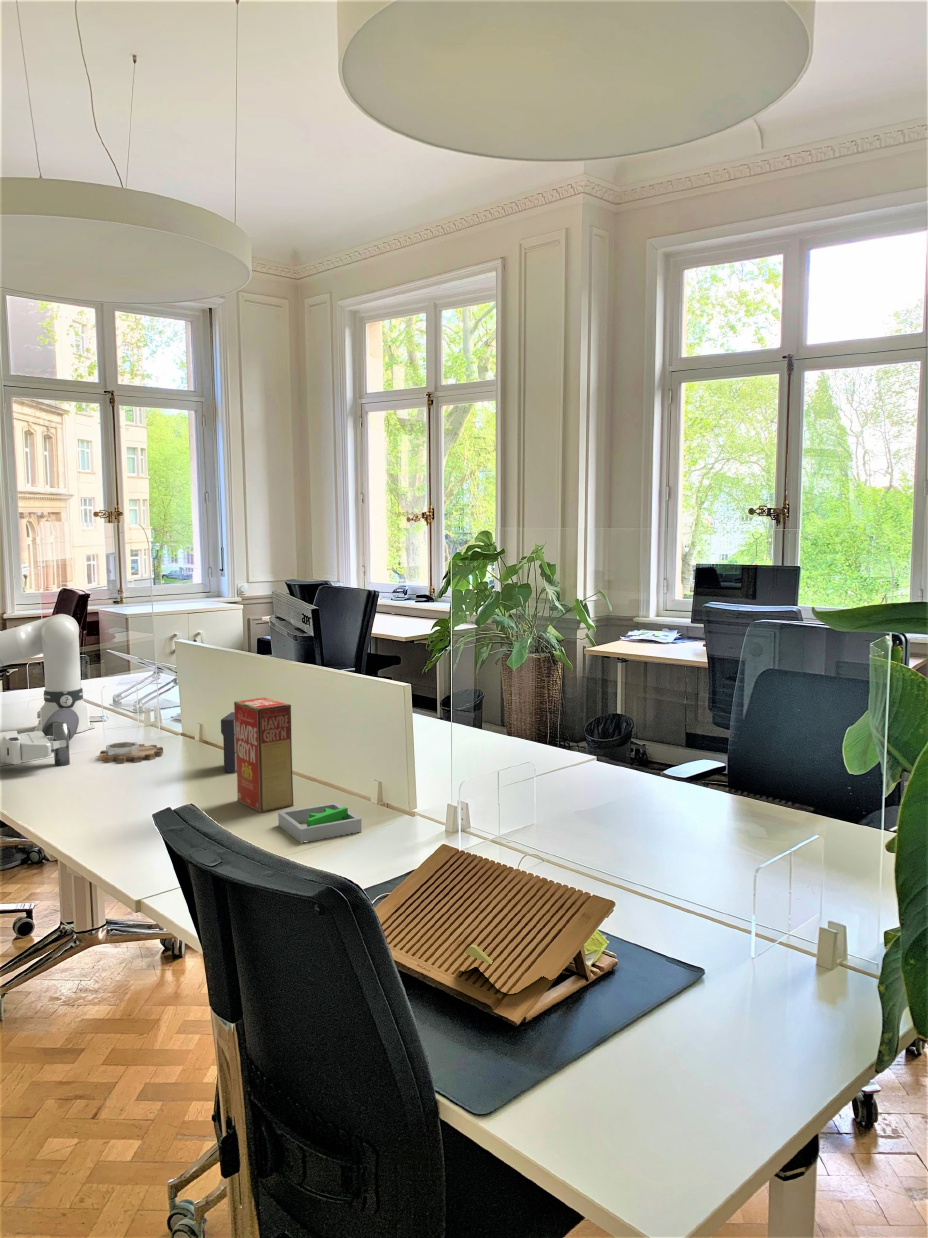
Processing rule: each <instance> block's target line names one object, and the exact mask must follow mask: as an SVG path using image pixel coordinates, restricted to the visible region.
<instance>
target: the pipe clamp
mask: <svg viewBox="0 0 928 1238" xmlns="http://www.w3.org/2000/svg"><path fill="white" fill-rule="evenodd" d="M342 807H343V808H340V809H337V810H332V809H328V808H325V809H324V812H323V813H310V814H309V819H307V822H306V827H309V826H314V825H320V824H326V823H331V822H337V821H343V820H348V811H349V808H348V807H346V806H342Z"/></svg>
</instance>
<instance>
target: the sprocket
mask: <svg viewBox="0 0 928 1238" xmlns="http://www.w3.org/2000/svg"><path fill="white" fill-rule="evenodd" d="M163 753H164V748H163V746H158V745H157V744H150V745H145V744H144V743H137V742H136V741H135V742H134V741H121V742H114V743H110V744H108V745H105V750H103V749H102V750H101V751H99V753H98V758H99V761H104V763H108V764H110V763H113V762H116V761H117V762H116V763H117V764H125V763H128V762H133V763H135V764H136V763H140V762H142V761H144V760H148V761H151V760H155V759H156V757H162V756H163V755H164V754H163Z"/></svg>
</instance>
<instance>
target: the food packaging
mask: <svg viewBox="0 0 928 1238" xmlns="http://www.w3.org/2000/svg"><path fill="white" fill-rule="evenodd" d="M233 705H234V708H233V710H234V711H233V712H235V735H236V761H237V771H236V786H237V788H236V789H237V790H236V791H237V799H236V801H237V802H238V803H241V804H242V805H244V806H247V807H249V808H251V809H253V810H254V811H257V812H259V813H266V812H272V811H276V810H280V809H285V808H291V807H293V806H294V782H293V748H292V747H293V743H292V705H291V704H290V703H287V702H286V703H285V702H282V701H278V700H273V699H271V698H267V697H256V698H250V699H242V700H237V701H234V702H233Z"/></svg>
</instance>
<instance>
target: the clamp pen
mask: <svg viewBox="0 0 928 1238" xmlns="http://www.w3.org/2000/svg"><path fill="white" fill-rule="evenodd" d="M343 807H344V806H342V805H340V804H339V803H337V802H333V803H327V804H321V805H320V804H319V805H314V806H307V807H303V808H302V807H301V808H296V809H289V810H285V811H284V810H283V811H279V812H278V813H277V817H278V820H277V821H278V826H279V827H280V828H282V830H284V831H285V832H286V833H287V834H289V835H291V836H292V837H293V838H294V839H295V840H296V841H298V842H299V841H300V842H304V841H311V842H315V841H314V840H316V841H320V840H319V839H321V840H325V839H324V838H327V839H330V838H329V837H332V838H335V837H334V836H337V837H341V836H340V835H343V836H347V835H346V834H348V835H352V834H351V833H353V834H358V833H357V832H359V833H362V832H361V831H362V818H361V817H359V816H358V815H356V814H355V813H353V812H351V810H348V820H343V821H337V822H331V823H326V824H320V825H314V826H309V827H307V826H302V825H301V824H302V822H303V823H307V822H306V821H307V819H309V814H310V813H323V812H324V809H325V808H328V809H332V810H337V809H340V808H343ZM300 842H299V843H300Z"/></svg>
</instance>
